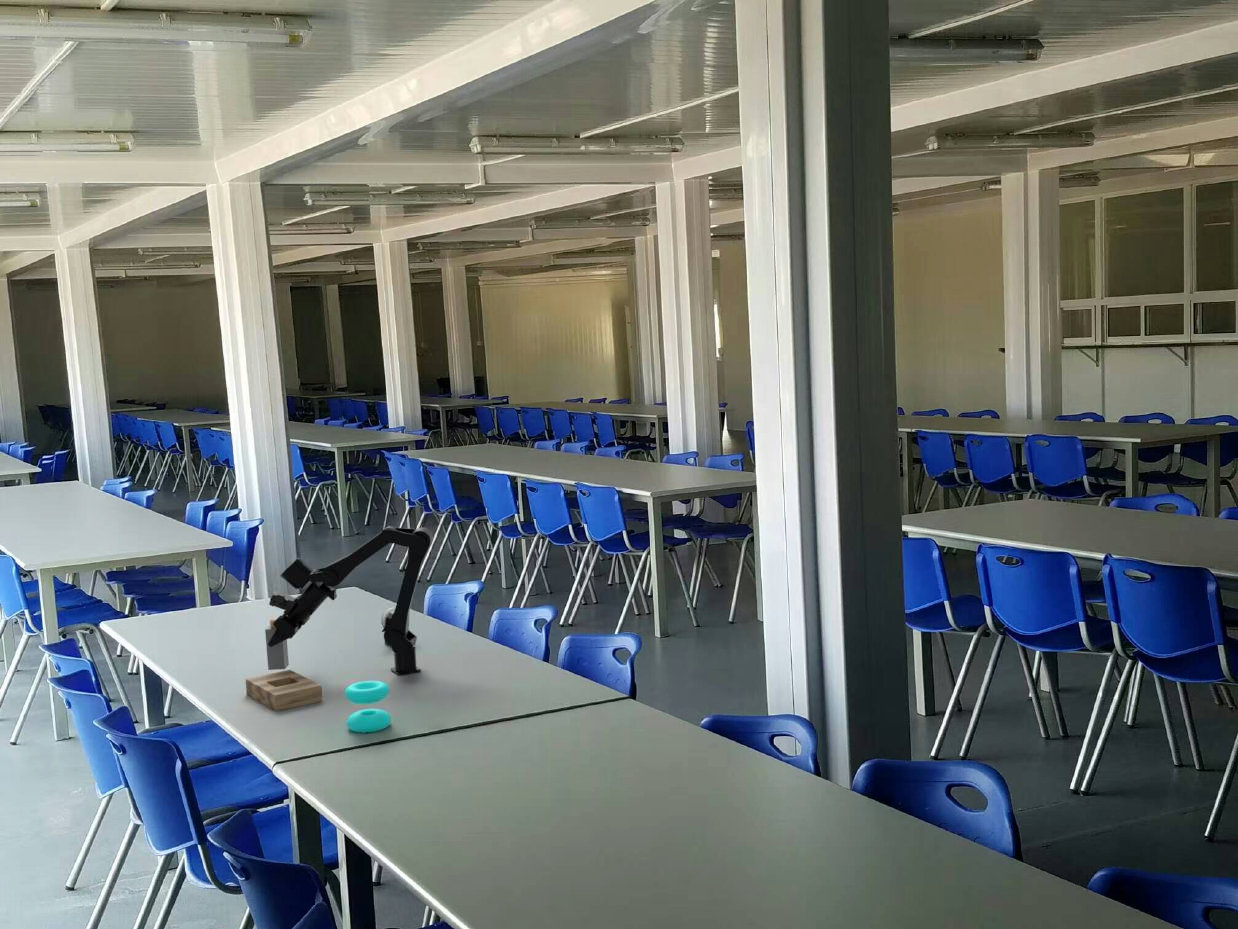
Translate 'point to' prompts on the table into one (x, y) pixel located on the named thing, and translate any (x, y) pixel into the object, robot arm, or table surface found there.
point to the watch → (385, 618)
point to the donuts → (369, 717)
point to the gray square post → (276, 650)
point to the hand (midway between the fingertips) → (271, 643)
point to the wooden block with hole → (283, 690)
